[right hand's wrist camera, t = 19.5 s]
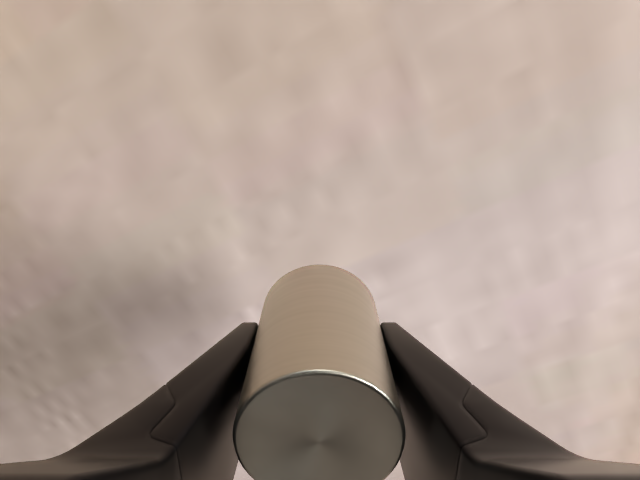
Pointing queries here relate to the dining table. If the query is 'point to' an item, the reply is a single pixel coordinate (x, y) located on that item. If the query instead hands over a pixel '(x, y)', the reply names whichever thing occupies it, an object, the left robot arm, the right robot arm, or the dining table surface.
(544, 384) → the dining table surface
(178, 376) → the right robot arm
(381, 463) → the canister
